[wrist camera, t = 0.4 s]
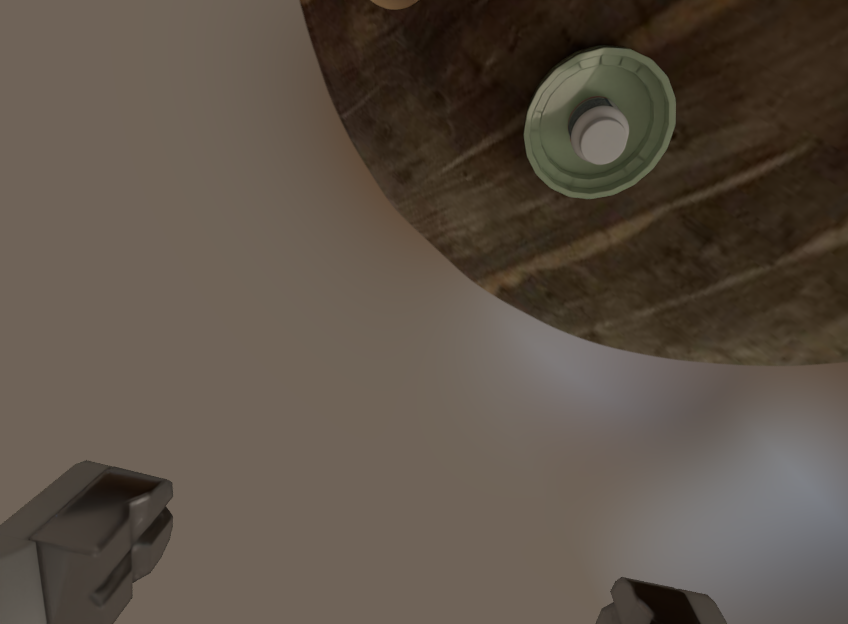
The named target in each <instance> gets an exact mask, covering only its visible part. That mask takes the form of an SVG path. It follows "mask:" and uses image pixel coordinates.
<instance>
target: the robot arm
mask: <svg viewBox="0 0 848 624" xmlns="http://www.w3.org/2000/svg"><path fill="white" fill-rule="evenodd" d="M172 497H173V489H172V482H171V481H169V480H167V479H163V478H159V477H154V476H150V475H147V474H142V473H138V472H134V471H130V470H126V469H122V468H118V467H112V466H108V465H103V464H99V463H95V462H91V461H87V460H86V461H83V462H81V463H78V464H75V465H74V466H73V467H71V468H70V469H69V470H68V471H66V472H65V473H64V474H63V475H61V476H60V477H59V478H58V479H57V480H55V481H54V482H53V483H52V484H50V485H49V486H48V487H47V488H45V489H44V490H43V491H42V492H41V493H40V494H38V495H37V496H36V497H34V498H33V499H32V500H31V501H29V502H28V503H27V504H26V505H25V506H24V507H22V508H21V509H20V510H18V511H17V512H16V513H15V514H14V515H12V516H11V517H10V518H9V519H7V520H6V521H5V522H4V523H2V524H1V525H0V624H113V623H114V622H115V621H116V619H117V618H118V616H119V615H120V614H121V612H122V611H123V610H124V608H125V607H126V606H127V604H128V603H129V602H130V600H131V599H132V583H134V582H135V581H137V580H138V579H141V578H142V577H144V576H146V575H148V574H149V573H151V571H152V570H153V569H154V567H155V565H156V564H157V563H158V561H159V560H160V558H161V557H162V555H163V552H164V550H165V548H166V546H167V544H168V542H169V540H170V536H171V531H172V527H173V516H172V514H171V513H170V511H169V510H168V509H167V507H166V505H167V503H168V502H169V501H170V500H171V498H172ZM610 592H611V595H612V598H613V601H614V602H613V603H611V604H609V605H608V606H606V607H604V608H602V610H601V612H600V614H599V617H598V619H597V621H596V624H727V623H726V620H725V619H724V617H723V615H722V613H721V612H720V610H719V608H718V607H717V605H716V603H715V602H714V601H713V600H712V599H711V598H710V597H709V596H708V595H706V594H701V593H696V592H692V591H687V590H682V589H675V588H673V587H668V586H663V585H658V584H653V583H648V582H644V581H639V580H633V579H629V578H624V577H621V578H620V579H618V580H617V581H615V583H614V585H613V587H612V589H611V591H610Z"/></svg>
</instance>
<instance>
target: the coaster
mask: <svg viewBox="0 0 848 624" xmlns="http://www.w3.org/2000/svg"><path fill="white" fill-rule="evenodd" d="M371 1H372V2H373V3H375V4H376V5H378V6H380V7H383V8H386V9H391V10H399V9H404V8H407V7H410V6H412V5H414V4H415V3H417V2H418V1H419V0H371Z"/></svg>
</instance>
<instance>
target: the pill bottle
mask: <svg viewBox="0 0 848 624" xmlns="http://www.w3.org/2000/svg"><path fill="white" fill-rule="evenodd" d="M568 133H569V137H570V141H571V145H572V148H573V150H574V152H575V153H576V154H577V155H578V156H579V157H580V158H581V159H583V160H585V161H587V162H591V163H593V164H597V165H603V164H607V163H610V162H612V161H614V160H615V159H617V158H618V157H619V156H620V155H621V154H622V152H623V151H624V149H625V146H626V143H627V139H628V135H629V125H628V121H627V119H626V117H625V116H624V114H623V113H622V112H621V111H620V110H619V108H618V107H617V105H616V104H615V103H614V102H613V101H612V100H610V99H608V98H606V97H603V96H593V97H589V98H587V99H585V100H583V101H581V102H580V103H579V104H578V105H577V106H576V107H575V108H574V109H573V111H572V112H571V114H570V117H569V120H568Z"/></svg>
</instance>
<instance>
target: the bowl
mask: <svg viewBox="0 0 848 624" xmlns="http://www.w3.org/2000/svg"><path fill="white" fill-rule="evenodd" d="M593 96H603V97H606V98H608V99H610V100H612V101H613V102H614V103H615V104H616V105H617V107H618V108H619V110H620V111H621V112H622V113H623V114H624V116H625V117H626V119H627V121H628V125H629V135H628V139H627V143H626V146H625V149H624V151H623V152H622V154H621V155H620V156H619V157H618V158H617V159H615V160H614V161H612V162H610V163H607V164H603V165H597V164H593V163H591V162H587V161H585V160H583V159H581V158H580V157H579V156H578V155H577V154H576V153H575V152H574V150H573V148H572V145H571V141H570V137H569V133H568V120H569V117H570V114H571V112H572V111H573V109H574V108H575V107H576V106H577V105H578V104H579V103H580V102H581V101H583V100H585V99H587V98H589V97H593ZM675 122H676V99H675V96H674V93H673V90H672V87H671V84H670V82H669V79H668V77H667V75H666V74H665V73H664V72H663V71H662V70H661V69H660V68H659V67H658V65H657V64H656V63H655V62H654V61H653V60H652V59H650V58H648V57H646V56H644V55H642V54H640V53H637V52H635V51H633V50H631V49H629V48H627V47H624V46H611V45H598V46H594V47H590V48H587V49H583V50H580V51H577V52H575V53H573V54H571V55H570V56H568V57H567V58H565V59H564V60H562V61H561V62H559V63H557V64H556V65H555V66H554V67H553V68H552V69H551V70H550V71H549V72H548V73H547V75H546V76H545V77H544V78H543V79H542V80H541V81H540V83H539V84H538V85H537V88H536V90H535V92H534V94H533V96H532V98H531V100H530V102H529V104H528V108H527V114H526V121H525V127H524V141H525V148H526V155H527V158H528V160H529V162H530V164H531V166H532V168H533V170H534V171H535V173H536V175H537V176H538V177H539V178H540V179H541V180H542V181H543V182H544V183H546V184H547V185H548V186H549V187H550V188H551V189H553V190H555V191H558V192H560V193H562V194H564V195H567V196H569V197H576V198H584V199H594V198H599V197H605V196H610V195H614V194H616V193H618V192H620V191H622V190H624V189H627V188H629V187H631V186H633V185H634V184H636V183H637V182H638V181H639V180H640V179H642V178H643V177H644V176H645V175H646V174H647V173H649V172H650V171H651V170H652V169H653V168H654V167H655V165H656V164H657V162H658V161H659V159H660V158H661V157H662V155H663V154H664V152H665V151H666V149H667V148H668V145H669V142H670V139H671V136H672V133H673V130H674V127H675Z"/></svg>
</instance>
